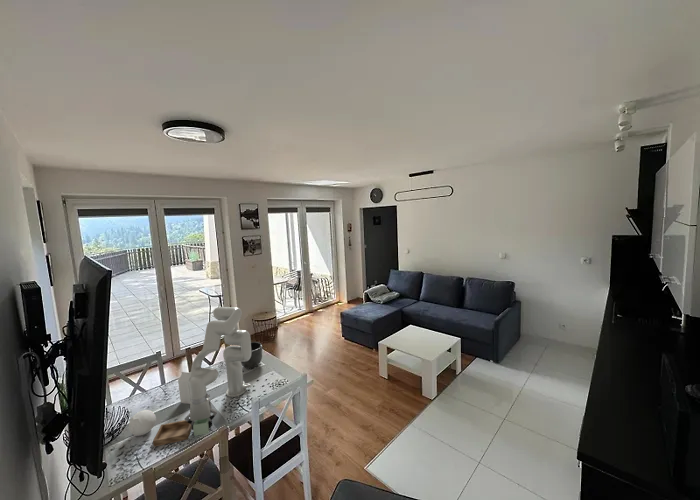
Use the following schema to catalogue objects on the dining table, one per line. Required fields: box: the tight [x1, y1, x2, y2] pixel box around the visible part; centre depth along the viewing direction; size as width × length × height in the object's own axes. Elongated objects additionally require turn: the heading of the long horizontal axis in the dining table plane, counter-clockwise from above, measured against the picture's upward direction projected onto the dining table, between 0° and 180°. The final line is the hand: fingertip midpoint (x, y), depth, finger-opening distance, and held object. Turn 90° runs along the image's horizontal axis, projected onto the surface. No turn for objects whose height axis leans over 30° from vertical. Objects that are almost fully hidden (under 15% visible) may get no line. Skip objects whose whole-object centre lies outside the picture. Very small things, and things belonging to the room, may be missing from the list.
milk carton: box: [177, 371, 191, 405], centre depth 182 cm, size 7×7×19 cm
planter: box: [241, 341, 263, 370], centre depth 220 cm, size 17×17×16 cm
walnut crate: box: [152, 419, 193, 448], centre depth 154 cm, size 16×12×3 cm
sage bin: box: [192, 418, 211, 437], centre depth 157 cm, size 7×7×6 cm
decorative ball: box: [128, 409, 157, 437], centre depth 156 cm, size 12×12×12 cm
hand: (202, 428), depth 157 cm, fingers closed on sage bin, 7 cm apart
